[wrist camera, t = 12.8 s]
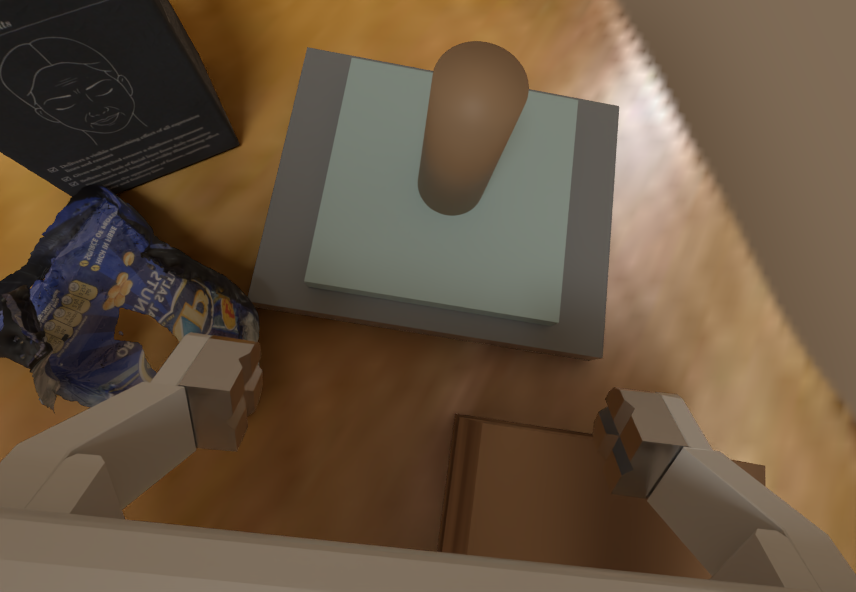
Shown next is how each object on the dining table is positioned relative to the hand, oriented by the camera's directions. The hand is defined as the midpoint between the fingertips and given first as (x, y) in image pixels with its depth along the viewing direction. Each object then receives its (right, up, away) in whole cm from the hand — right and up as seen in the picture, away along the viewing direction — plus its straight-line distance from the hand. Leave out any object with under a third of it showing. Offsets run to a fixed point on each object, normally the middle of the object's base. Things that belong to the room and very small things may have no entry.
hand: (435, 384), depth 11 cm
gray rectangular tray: (+1, +7, +13) cm, 14 cm away
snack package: (-14, +1, +11) cm, 17 cm away
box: (-14, +10, +13) cm, 22 cm away
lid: (+1, +7, +11) cm, 13 cm away
